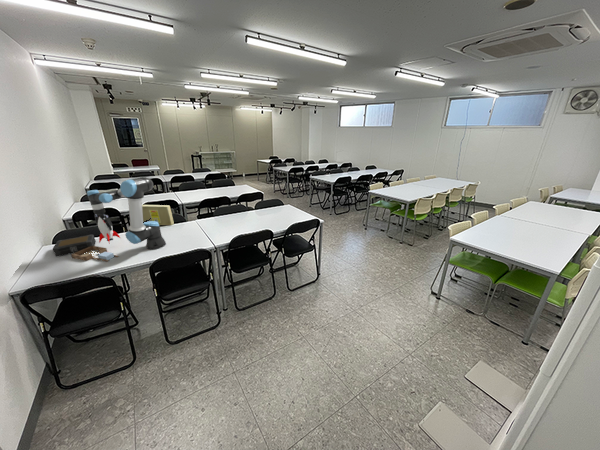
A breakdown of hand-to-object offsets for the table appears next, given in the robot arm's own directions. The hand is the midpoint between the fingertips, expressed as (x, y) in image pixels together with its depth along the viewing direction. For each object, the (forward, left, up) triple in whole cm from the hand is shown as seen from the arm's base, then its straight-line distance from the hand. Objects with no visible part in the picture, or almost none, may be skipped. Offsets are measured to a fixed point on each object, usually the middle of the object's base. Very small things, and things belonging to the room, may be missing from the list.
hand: (107, 233), depth 205 cm
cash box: (+27, +11, -14) cm, 33 cm away
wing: (-15, +16, -14) cm, 26 cm away
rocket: (0, 0, -8) cm, 8 cm away
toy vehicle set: (+5, -55, -14) cm, 57 cm away
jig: (-5, +16, -14) cm, 22 cm away
